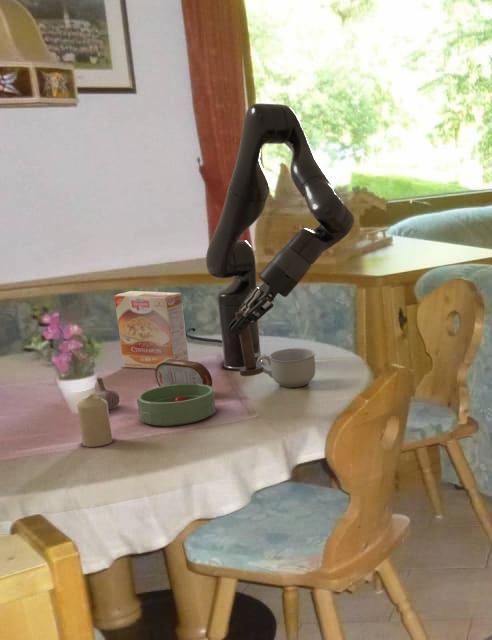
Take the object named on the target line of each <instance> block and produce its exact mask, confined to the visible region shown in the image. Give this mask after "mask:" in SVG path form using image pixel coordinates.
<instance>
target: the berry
mask: <svg viewBox="0 0 492 640" xmlns="http://www.w3.org/2000/svg"><path fill="white" fill-rule="evenodd" d="M184 400H186V398H184V397H182V396H179V397H176V398H175V400H174V402H177V401H184Z"/></svg>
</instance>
